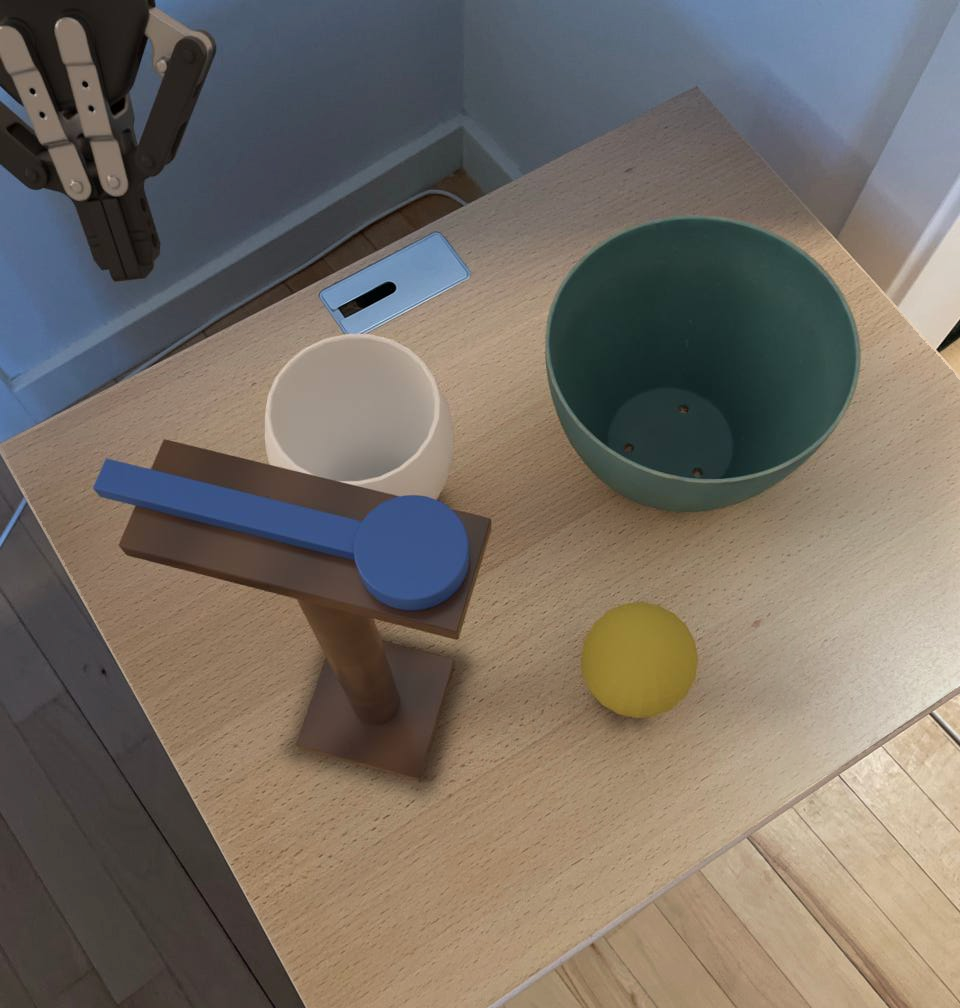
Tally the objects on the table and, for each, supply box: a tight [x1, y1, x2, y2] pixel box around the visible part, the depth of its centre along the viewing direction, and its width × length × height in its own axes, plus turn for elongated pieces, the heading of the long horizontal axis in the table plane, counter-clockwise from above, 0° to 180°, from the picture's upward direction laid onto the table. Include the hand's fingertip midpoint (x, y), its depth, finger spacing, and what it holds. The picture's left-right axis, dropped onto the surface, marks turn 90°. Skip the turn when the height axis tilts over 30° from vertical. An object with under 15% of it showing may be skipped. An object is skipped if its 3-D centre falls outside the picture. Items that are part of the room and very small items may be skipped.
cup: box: [264, 333, 455, 500], centre depth 62 cm, size 11×11×15 cm
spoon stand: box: [118, 438, 492, 782], centre depth 53 cm, size 14×8×26 cm, turn 75°
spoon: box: [92, 458, 470, 610], centre depth 40 cm, size 15×4×1 cm, turn 75°
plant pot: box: [544, 214, 862, 514], centre depth 65 cm, size 18×18×12 cm
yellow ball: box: [580, 601, 699, 719], centre depth 60 cm, size 7×7×10 cm
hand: (135, 274), depth 48 cm, fingers closed
